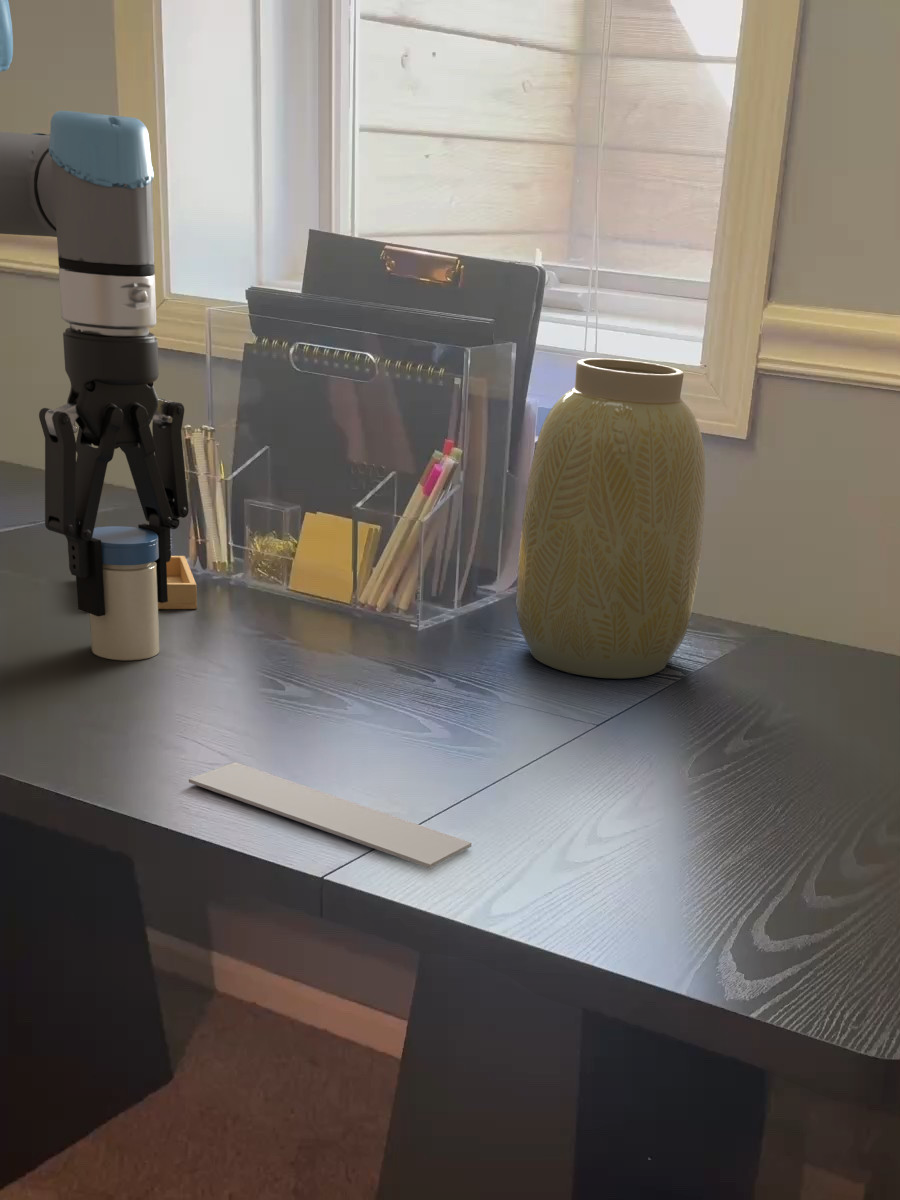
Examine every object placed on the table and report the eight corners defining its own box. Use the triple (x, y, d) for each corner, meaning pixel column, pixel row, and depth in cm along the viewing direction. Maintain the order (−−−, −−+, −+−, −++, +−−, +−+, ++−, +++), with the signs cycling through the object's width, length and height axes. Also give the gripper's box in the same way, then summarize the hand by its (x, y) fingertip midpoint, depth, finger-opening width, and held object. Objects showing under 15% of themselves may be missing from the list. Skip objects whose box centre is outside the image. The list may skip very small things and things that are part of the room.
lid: (127, 543, 133) (126, 522, 132) (175, 558, 130) (174, 537, 129) (67, 553, 129) (66, 531, 128) (115, 569, 125) (114, 547, 125)
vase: (568, 693, 134) (600, 380, 121) (479, 638, 146) (500, 349, 133) (719, 678, 142) (764, 383, 129) (622, 627, 155) (655, 354, 142)
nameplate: (235, 766, 111) (188, 783, 107) (235, 762, 111) (188, 778, 107) (471, 847, 102) (429, 869, 98) (471, 842, 102) (430, 864, 98)
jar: (77, 648, 133) (70, 541, 128) (131, 636, 137) (126, 533, 133) (119, 664, 130) (114, 556, 125) (173, 652, 134) (170, 547, 129)
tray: (90, 578, 153) (89, 554, 152) (185, 579, 156) (185, 555, 155) (96, 609, 144) (95, 583, 143) (197, 609, 147) (196, 584, 146)
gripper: (41, 338, 112) (62, 634, 123) (229, 331, 126) (232, 597, 137) (-21, 325, 115) (5, 614, 126) (169, 319, 129) (177, 579, 140)
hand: (123, 605), depth 131 cm, fingers closed on lid, 6 cm apart
